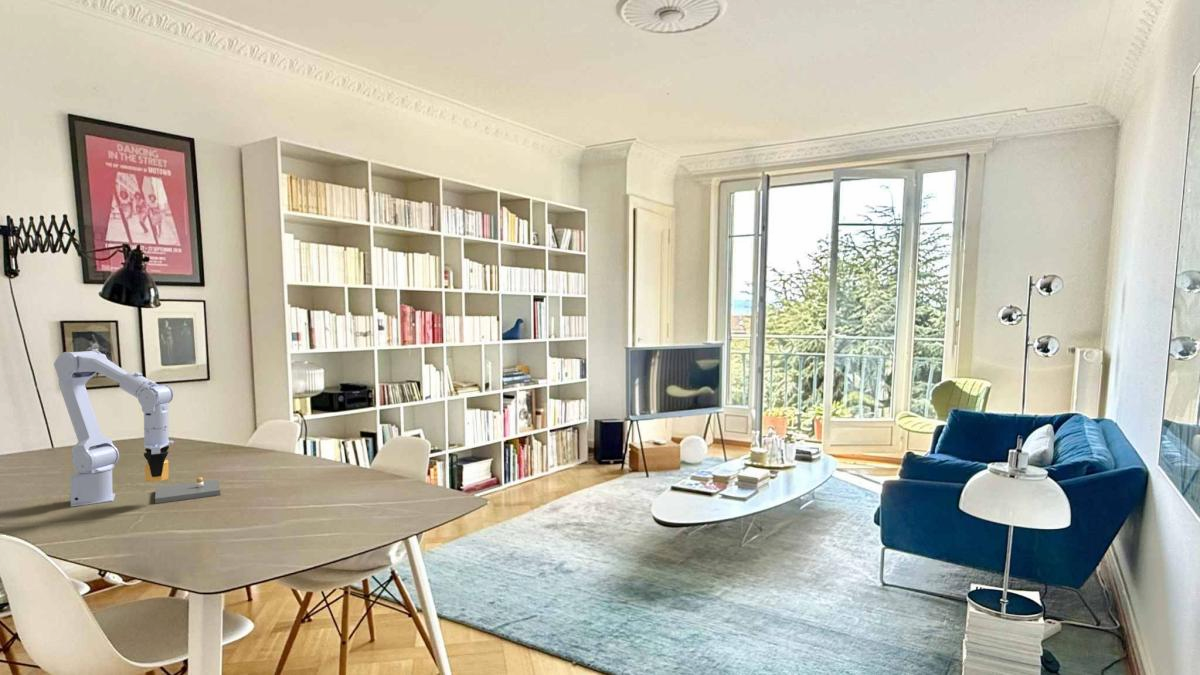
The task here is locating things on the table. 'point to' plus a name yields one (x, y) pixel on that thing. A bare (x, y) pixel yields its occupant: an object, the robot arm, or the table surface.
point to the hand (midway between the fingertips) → (157, 474)
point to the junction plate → (187, 491)
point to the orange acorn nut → (164, 476)
